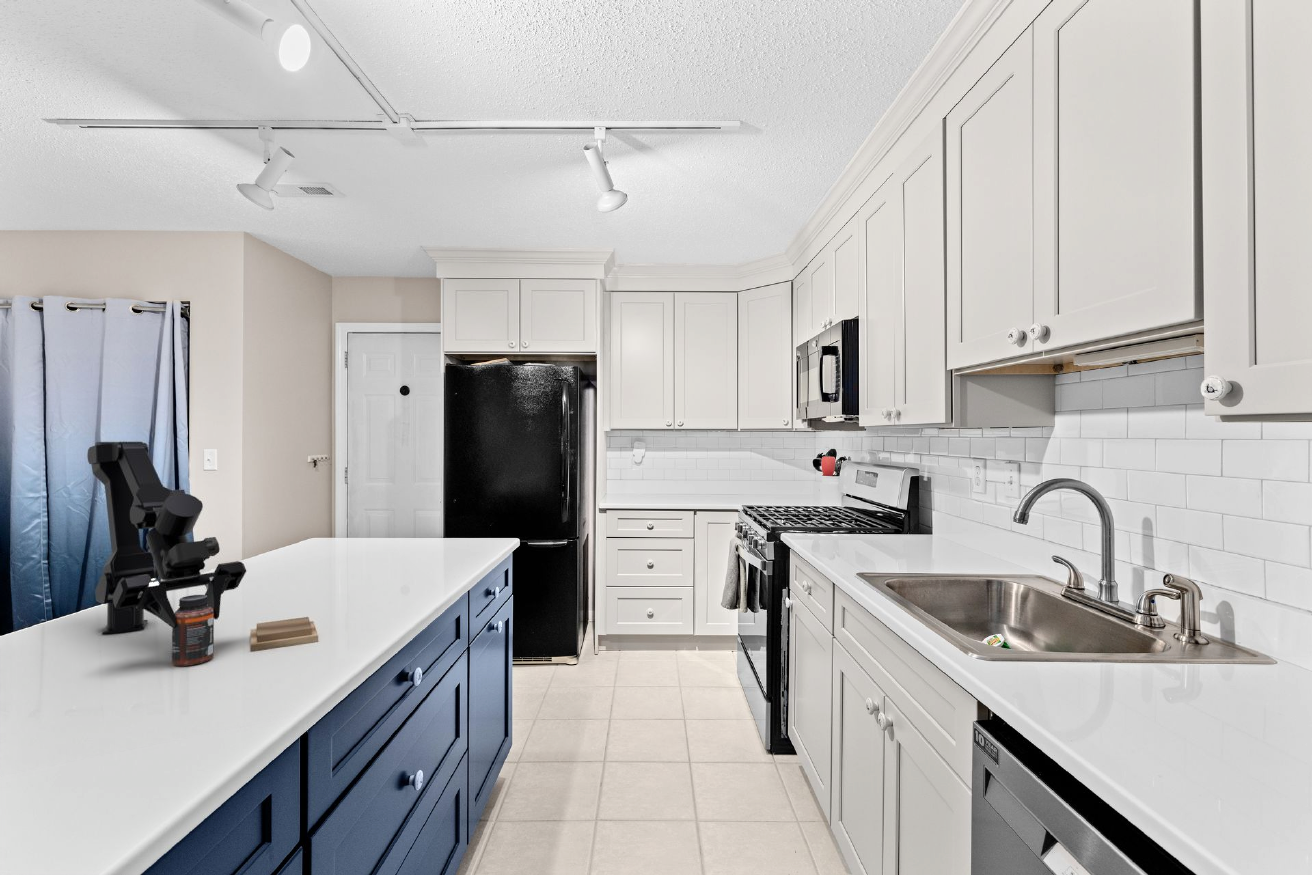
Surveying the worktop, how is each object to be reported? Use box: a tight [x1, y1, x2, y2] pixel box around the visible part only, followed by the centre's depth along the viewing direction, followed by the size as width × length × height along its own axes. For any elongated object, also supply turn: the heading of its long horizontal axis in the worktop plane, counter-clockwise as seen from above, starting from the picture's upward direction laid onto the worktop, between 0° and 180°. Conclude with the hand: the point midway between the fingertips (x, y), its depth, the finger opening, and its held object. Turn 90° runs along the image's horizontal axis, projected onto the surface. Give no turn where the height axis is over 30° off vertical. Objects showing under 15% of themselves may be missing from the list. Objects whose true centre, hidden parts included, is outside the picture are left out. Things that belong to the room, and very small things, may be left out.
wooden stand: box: [250, 616, 319, 653], centre depth 123 cm, size 11×11×2 cm
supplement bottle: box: [171, 594, 215, 667], centre depth 110 cm, size 6×6×11 cm
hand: (196, 622), depth 109 cm, fingers closed on supplement bottle, 6 cm apart
